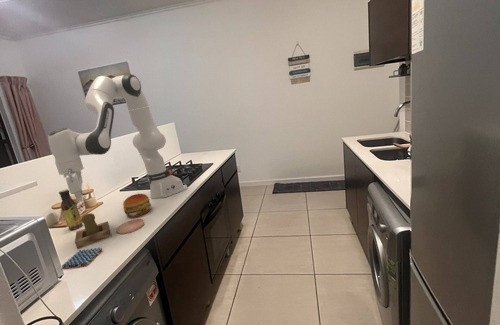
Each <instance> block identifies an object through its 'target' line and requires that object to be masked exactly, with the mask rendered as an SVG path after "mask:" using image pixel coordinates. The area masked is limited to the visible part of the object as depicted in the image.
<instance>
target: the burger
mask: <svg viewBox="0 0 500 325" xmlns="http://www.w3.org/2000/svg"><path fill="white" fill-rule="evenodd" d="M150 201H151V200H150V199H149V196H148V195H146V194H144V193H135V194H132V195H130V196H128V197H126V198H125V200H124V201H123V203H122V205H123V212H124V214H125V215H126V216H127V217H131V218H132V217H138V216H141V215H144V214H146V213H148V212H149V211H150V210H151V208H152V204H151V202H150Z"/></svg>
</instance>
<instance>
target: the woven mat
mask: <svg viewBox="0 0 500 325" xmlns="http://www.w3.org/2000/svg"><path fill="white" fill-rule="evenodd" d="M103 251H104V250H103V247H101V248H100V247H98V248H97V247H95V248H89V249H83V250H82V249H80V250H78V251H77V252H75V254H73V256H71V257H70V258H69V259H68V260H66V262H64V263H63V264H62V265H61V269H62V270H68V269H77V268H84V267H89V265H90V264H91V263H93V261H94V260H95V259H96V258H97V257H98V256H100V255H101V254H102V253H103Z"/></svg>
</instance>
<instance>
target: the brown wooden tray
mask: <svg viewBox="0 0 500 325" xmlns="http://www.w3.org/2000/svg"><path fill="white" fill-rule="evenodd" d="M97 226H98V228H99V230H100V231H101V232H98V233H95V234H92V235H89V236H86V231H85V228H82V229H80V230H77V231H75V239H74V244H75V247H76V249H77V250H78V249H81V248H84V247H86V246H87V247H88V246H89V245H93V244H95V243H97V242H100V241H103V240H106V239H109V238H111V237H112V234H111V228H110V227H111V226H110V224H109V221H104V222H101V223H97Z"/></svg>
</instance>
